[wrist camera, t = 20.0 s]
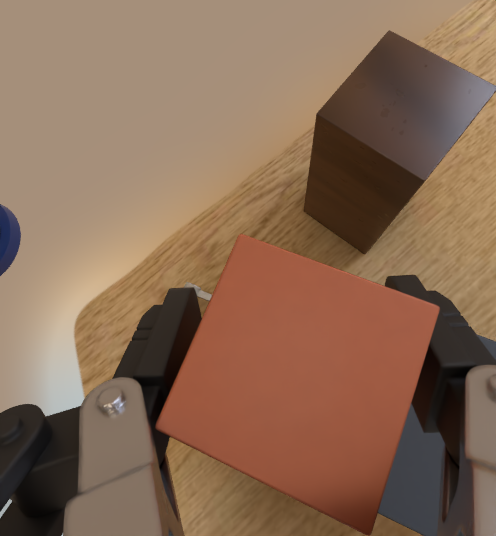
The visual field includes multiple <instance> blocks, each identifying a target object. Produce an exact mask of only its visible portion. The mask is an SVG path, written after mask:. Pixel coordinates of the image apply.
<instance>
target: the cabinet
mask: <svg viewBox="0 0 496 536" xmlns="http://www.w3.org/2000/svg"><path fill="white" fill-rule="evenodd" d="M476 335H477V334H476ZM477 336H478V337H479V339H480V340H481V341H482V343H483V344H484V345H485V347H486V348H487V349H488V351H489V352H490V353H491V355H492V356H493V357H494V358H495V360H496V342H495V341H493V340H490V339H487V338H485V337H482V336H479V335H477ZM444 445H445V443H444V441H443V439H442V436H441V434H440V433H424V432H423V430H422V427H421V425H420V423H419V420H418V418H417V415H416V413H415V411H414V408H413V406H412V403H411V405H410V408H409V412H408V415H407V418H406V422H405V425H404V428H403V431H402V435H401V438H400V441H399V444H398V448H397V451H396V454H395V458H394V461H393V464H392V467H391V471H390V474H389V477H388V480H387V484H386V487H385V490H384V494H383V497H382V500H381V503H380V507H379V510H378V513H379V514H381V515H383V516H385V517H387V518H389V519H391V520H393V521H395V522H397V523H399V524H401V525H403V526H405V527H407V528H409V529H411V530H414V531H416V532H418V533H420V534H422V535H424V536H437V530H438V516H439V498H440V481H441V463H442V451H443V448H444Z"/></svg>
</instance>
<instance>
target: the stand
mask: <svg viewBox="0 0 496 536" xmlns="http://www.w3.org/2000/svg"><path fill="white" fill-rule="evenodd" d="M495 92H496V86H495V85H493V84H491V83H489V82H487V81H485V80H483V79H482V78H480V77H478V76H476V75H474V74H472V73H470V72H468V71H466V70H464V69H462V68H461V67H459V66H457V65H455V64H453V63H451V62H449V61H447V60H445V59H443V58H441V57H439V56H438V55H436V54H434V53H432V52H430V51H428V50H426V49H424V48H422V47H420V46H418V45H417V44H415V43H413V42H411V41H409V40H407V39H405V38H403V37H401V36H399V35H397V34H395V33H394V32H391V31H388V32H387V33H386V34H385V35H384V37H383V38H382V39H381V40H380V41H379V42H378V44H377V45H376V46H375V47H374V48H373V49H372V50H371V52H370V53H369V54H368V55H367V56H366V57H365V59H364V60H363V61H362V62H361V63H360V64H359V65H358V67H357V68H356V69H355V70H354V71H353V72H352V73H351V75H350V76H349V77H348V78H347V79H346V80H345V82H344V83H343V84H342V85H341V86H340V87H339V89H338V90H337V91H336V92H335V93H334V94H333V95H332V97H331V98H330V99H329V100H328V101H327V102H326V104H325V105H324V106H323V107H322V108H321V109H320V110H319V112H318V113H317V115H316V122H315V130H314V137H313V145H312V152H311V160H310V167H309V175H308V182H307V190H306V197H305V205H304V212H306V213H307V214H309V215H310V216H311V217H313V218H314V219H316V220H317V221H318V222H320V223H321V224H323V225H324V226H326V227H327V228H328V229H330V230H331V231H333V232H334V233H335V234H337V235H338V236H340V237H341V238H343V239H344V240H345V241H347V242H348V243H350V244H351V245H352V246H354V247H355V248H357V249H358V250H359V251H361V252H362V253H364V254H366V253H367V252H368V251H369V249H370V248H371V247H372V246H373V244H374V243H375V242H376V241H377V239H378V238H379V237H380V236H381V235H382V233H383V232H384V231H385V230H386V228H387V227H388V226H389V225H390V224H391V222H392V221H393V220H394V219H395V217H396V216H397V215H398V214H399V213H400V211H401V210H402V209H403V208H404V206H405V205H406V204H407V203H408V201H409V200H410V199H411V198H412V197H413V195H414V194H415V193H416V192H417V190H418V189H419V188H420V187H421V186H422V184H423V183H424V182H425V181H426V179H427V178H428V177H429V176H430V174H431V173H432V172H433V170H434V169H435V168H436V167H437V165H438V164H439V163H440V162H441V160H442V159H443V158H444V157H445V155H446V154H447V153H448V151H449V150H450V149H451V148H452V146H453V145H454V144H455V143H456V141H457V140H458V139H459V138H460V136H461V135H462V134H463V132H464V131H465V130H466V129H467V127H468V126H469V125H470V124H471V122H472V121H473V120H474V119H475V117H476V116H477V115H478V113H479V112H480V111H481V110H482V108H483V107H484V106H485V105H486V103H487V102H488V101H489V100H490V98H491V97H492V96H493V94H494V93H495Z"/></svg>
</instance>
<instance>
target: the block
mask: <svg viewBox="0 0 496 536" xmlns="http://www.w3.org/2000/svg"><path fill="white" fill-rule="evenodd" d="M439 310H440V307H439V306H437V305H435V304H432V303H429V302H427V301H424V300H421V299H418V298H416V297H413V296H410V295H407V294H405V293H402V292H399V291H396V290H394V289H391V288H388V287H385V286H383V285H380V284H377V283H375V282H372V281H369V280H366V279H364V278H361V277H358V276H355V275H353V274H350V273H347V272H344V271H342V270H339V269H336V268H333V267H331V266H328V265H325V264H323V263H320V262H317V261H314V260H312V259H309V258H306V257H303V256H301V255H298V254H295V253H292V252H290V251H287V250H284V249H281V248H279V247H276V246H273V245H270V244H268V243H265V242H262V241H260V240H257V239H254V238H251V237H249V236H246V235H243V234H240V235H239V236H238V237H237V240H236V242H235V244H234V247H233V249H232V251H231V253H230V256H229V258H228V260H227V263H226V265H225V267H224V269H223V272H222V274H221V276H220V279H219V281H218V283H217V285H216V288H215V290H214V292H213V295H212V297H211V299H210V301H209V304H208V306H207V308H206V311H205V313H204V315H203V317H202V320H201V322H200V324H199V327H198V329H197V331H196V333H195V336H194V338H193V340H192V343H191V345H190V347H189V349H188V352H187V354H186V356H185V359H184V361H183V363H182V365H181V368H180V370H179V372H178V375H177V377H176V379H175V381H174V384H173V386H172V388H171V391H170V393H169V395H168V397H167V400H166V402H165V404H164V407H163V409H162V411H161V413H160V416H159V418H158V420H157V423H156V426H155V428H156V429H157V430H158V431H160V432H162V433H164V434H166V435H168V436H170V437H172V438H174V439H176V440H178V441H180V442H182V443H184V444H186V445H188V446H190V447H192V448H194V449H196V450H198V451H200V452H202V453H204V454H206V455H208V456H210V457H212V458H214V459H216V460H218V461H220V462H222V463H224V464H226V465H228V466H230V467H232V468H234V469H236V470H238V471H240V472H242V473H244V474H246V475H248V476H250V477H252V478H254V479H256V480H258V481H260V482H262V483H264V484H265V485H267V486H269V487H271V488H273V489H275V490H277V491H279V492H281V493H283V494H285V495H287V496H289V497H291V498H293V499H295V500H297V501H299V502H301V503H303V504H305V505H307V506H309V507H311V508H313V509H315V510H317V511H319V512H321V513H323V514H325V515H327V516H329V517H331V518H333V519H335V520H337V521H339V522H341V523H343V524H345V525H347V526H349V527H351V528H353V529H355V530H357V531H359V532H361V533H363V534H365V535H369V536H370V534H371V533H372V530H373V526H374V523H375V520H376V516H377V513H378V510H379V507H380V503H381V500H382V497H383V494H384V490H385V487H386V484H387V480H388V477H389V474H390V471H391V467H392V464H393V461H394V458H395V454H396V451H397V448H398V444H399V441H400V438H401V435H402V431H403V428H404V425H405V422H406V418H407V415H408V412H409V408H410V405H411V402H412V399H413V395H414V392H415V389H416V386H417V382H418V379H419V376H420V373H421V369H422V366H423V363H424V359H425V356H426V353H427V350H428V346H429V343H430V340H431V337H432V333H433V330H434V327H435V323H436V320H437V317H438V314H439Z"/></svg>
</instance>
